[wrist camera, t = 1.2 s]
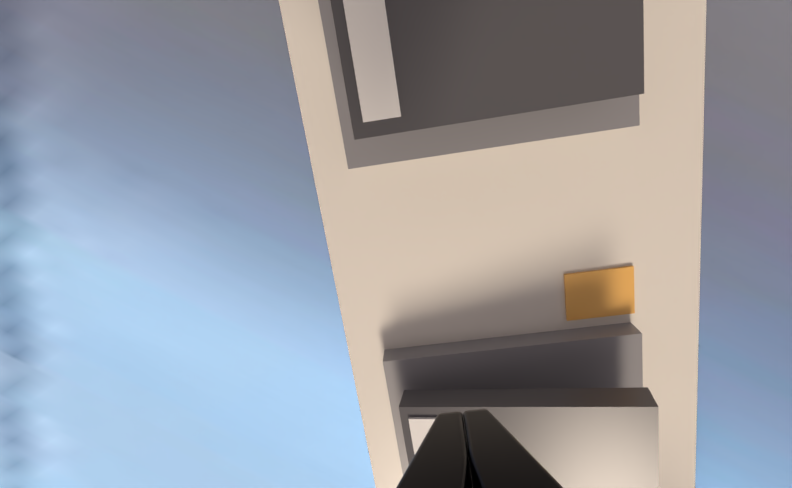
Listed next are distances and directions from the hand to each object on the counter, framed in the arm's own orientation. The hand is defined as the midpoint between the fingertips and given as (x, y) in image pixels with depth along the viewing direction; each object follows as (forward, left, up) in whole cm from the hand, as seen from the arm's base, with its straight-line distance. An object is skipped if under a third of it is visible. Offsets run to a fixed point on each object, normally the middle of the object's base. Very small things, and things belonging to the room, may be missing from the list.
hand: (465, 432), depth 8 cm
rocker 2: (-2, +6, -7) cm, 9 cm away
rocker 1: (-2, -7, -7) cm, 10 cm away
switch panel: (-2, -2, -11) cm, 11 cm away
